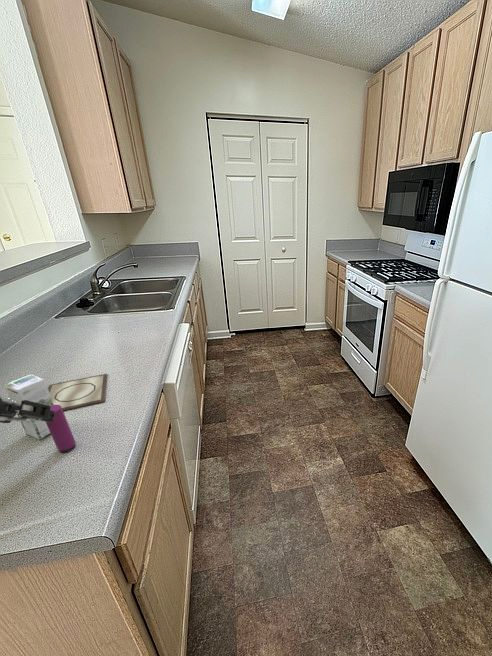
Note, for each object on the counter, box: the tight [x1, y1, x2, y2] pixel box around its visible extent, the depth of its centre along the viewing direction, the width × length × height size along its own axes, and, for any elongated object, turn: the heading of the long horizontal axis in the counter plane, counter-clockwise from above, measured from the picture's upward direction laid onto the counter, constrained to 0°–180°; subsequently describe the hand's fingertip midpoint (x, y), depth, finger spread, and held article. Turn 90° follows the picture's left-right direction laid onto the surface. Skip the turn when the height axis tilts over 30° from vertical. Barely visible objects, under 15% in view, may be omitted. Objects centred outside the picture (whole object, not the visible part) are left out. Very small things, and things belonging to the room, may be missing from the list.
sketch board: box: [47, 373, 108, 412], centre depth 99 cm, size 16×18×1 cm
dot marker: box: [46, 405, 77, 454], centre depth 75 cm, size 4×4×11 cm
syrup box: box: [3, 374, 54, 441], centre depth 80 cm, size 6×6×14 cm
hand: (31, 417), depth 67 cm, fingers open, 8 cm apart
